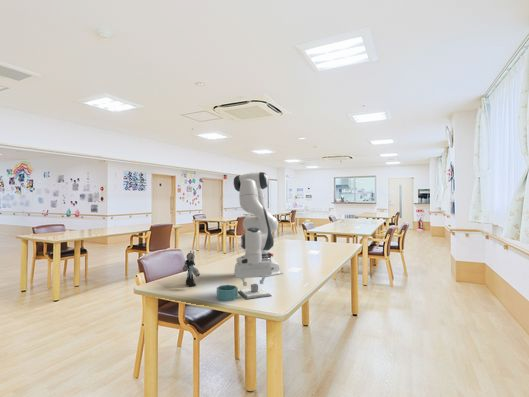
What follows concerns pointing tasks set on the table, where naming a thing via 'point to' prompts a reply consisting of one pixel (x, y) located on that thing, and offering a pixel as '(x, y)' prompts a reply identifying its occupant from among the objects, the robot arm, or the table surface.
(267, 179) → the robot arm
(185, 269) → the robot
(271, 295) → the mat
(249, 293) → the cover sheet
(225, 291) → the bowl
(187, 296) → the table surface
